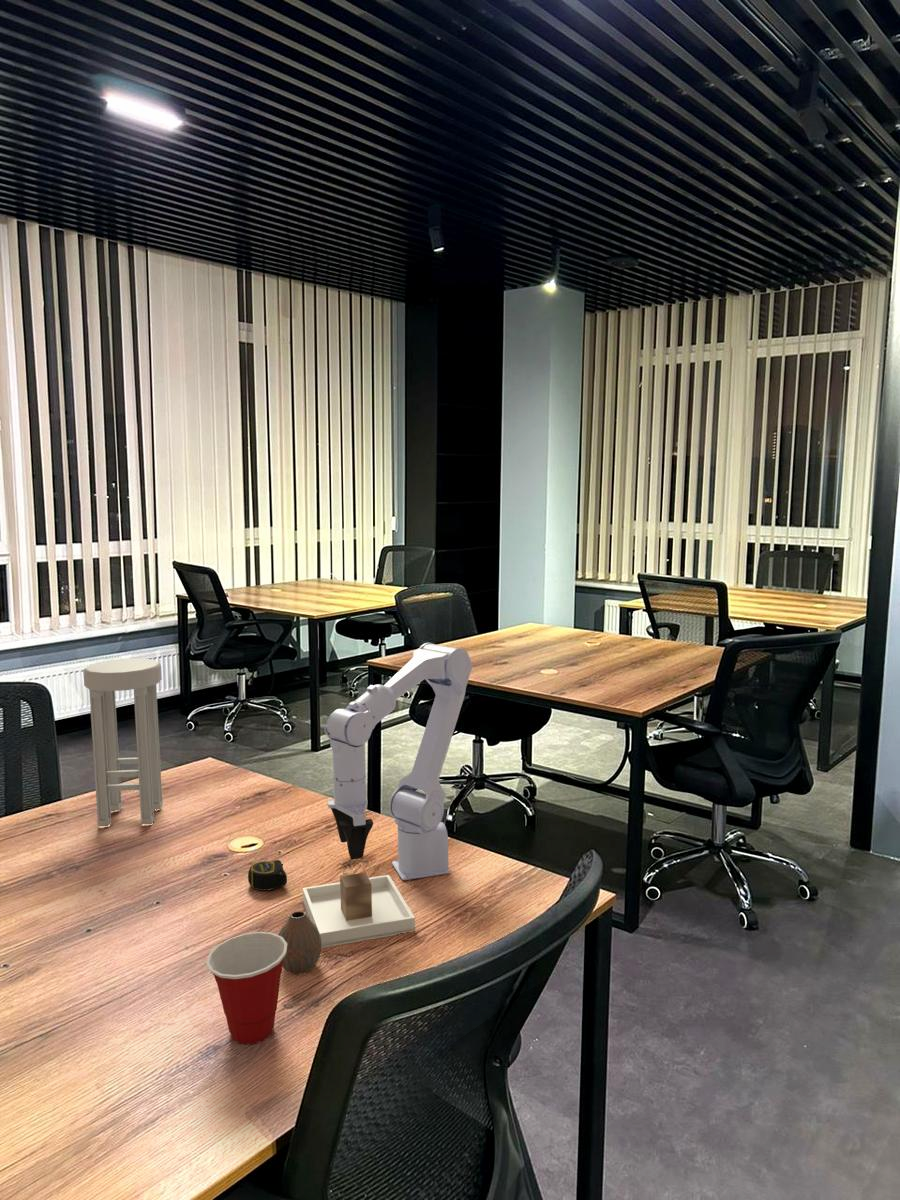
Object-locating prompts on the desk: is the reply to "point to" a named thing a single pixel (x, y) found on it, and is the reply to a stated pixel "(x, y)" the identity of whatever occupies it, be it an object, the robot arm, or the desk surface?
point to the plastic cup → (249, 982)
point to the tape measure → (267, 875)
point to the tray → (335, 930)
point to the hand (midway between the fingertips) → (351, 849)
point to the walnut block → (356, 896)
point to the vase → (300, 943)
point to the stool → (105, 740)
